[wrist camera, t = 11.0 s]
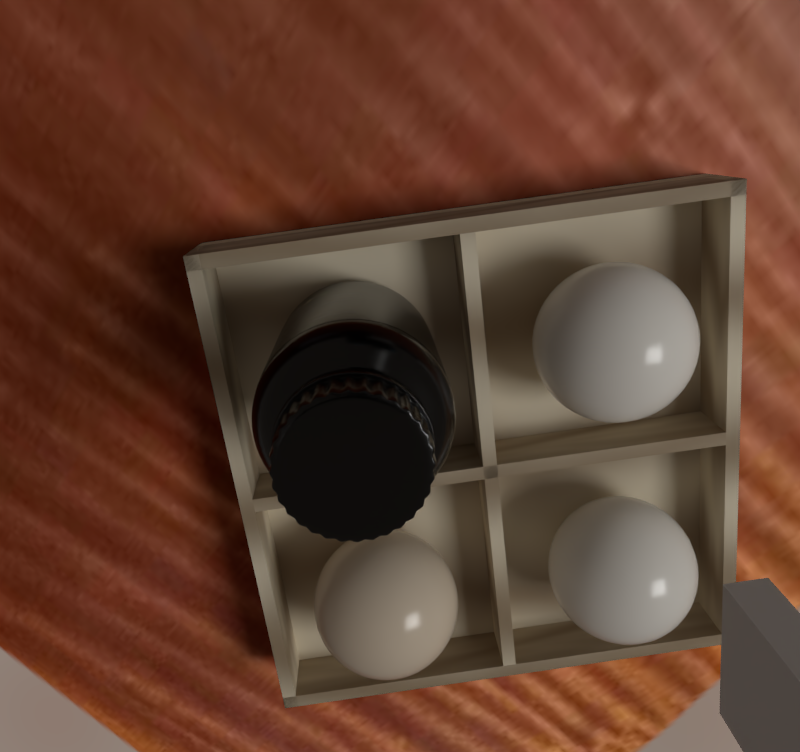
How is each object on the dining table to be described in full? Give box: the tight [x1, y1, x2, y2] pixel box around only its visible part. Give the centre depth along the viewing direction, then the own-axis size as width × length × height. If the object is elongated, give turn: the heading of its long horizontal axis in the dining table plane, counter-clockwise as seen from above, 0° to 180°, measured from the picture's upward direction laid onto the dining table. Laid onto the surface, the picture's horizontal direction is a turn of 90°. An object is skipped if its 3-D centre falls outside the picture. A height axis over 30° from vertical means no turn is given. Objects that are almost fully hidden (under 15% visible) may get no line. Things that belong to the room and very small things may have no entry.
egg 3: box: [548, 496, 699, 645], centre depth 32 cm, size 6×6×6 cm
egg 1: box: [314, 530, 458, 680], centre depth 32 cm, size 6×6×6 cm
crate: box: [183, 174, 747, 708], centre depth 33 cm, size 22×22×4 cm
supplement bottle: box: [251, 281, 456, 542], centre depth 26 cm, size 7×7×12 cm
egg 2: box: [532, 262, 700, 423], centre depth 29 cm, size 6×6×6 cm
